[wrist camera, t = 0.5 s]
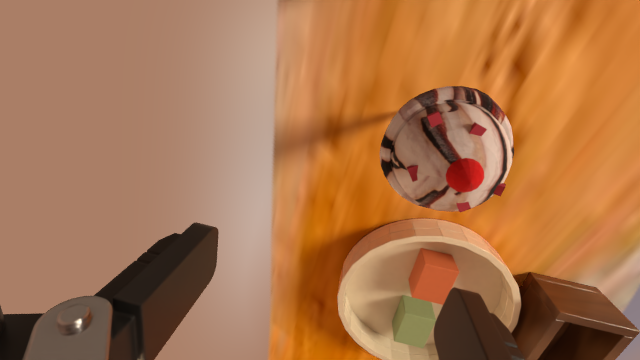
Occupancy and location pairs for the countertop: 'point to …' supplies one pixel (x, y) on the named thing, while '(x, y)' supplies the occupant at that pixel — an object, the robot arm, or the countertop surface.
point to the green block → (413, 321)
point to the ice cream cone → (448, 149)
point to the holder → (569, 322)
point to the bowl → (392, 281)
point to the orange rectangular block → (432, 276)
